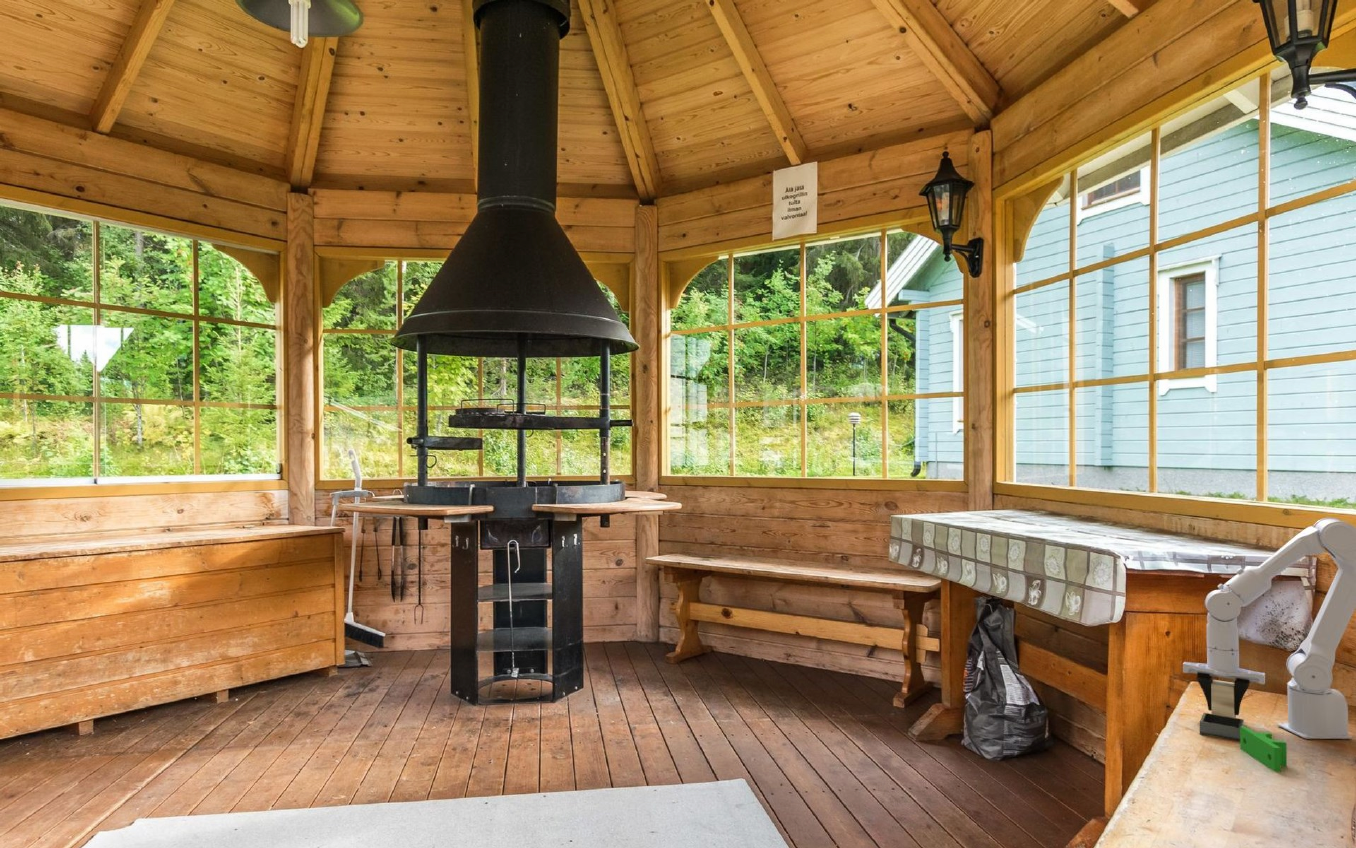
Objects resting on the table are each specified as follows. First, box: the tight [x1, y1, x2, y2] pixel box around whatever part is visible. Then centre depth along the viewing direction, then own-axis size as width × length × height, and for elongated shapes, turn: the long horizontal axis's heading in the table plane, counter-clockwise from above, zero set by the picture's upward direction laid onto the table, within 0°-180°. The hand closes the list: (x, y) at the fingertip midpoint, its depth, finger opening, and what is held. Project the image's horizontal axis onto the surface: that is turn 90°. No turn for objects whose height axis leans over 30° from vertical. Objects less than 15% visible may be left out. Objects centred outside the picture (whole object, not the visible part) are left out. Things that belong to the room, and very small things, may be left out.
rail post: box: [1211, 679, 1237, 718], centre depth 176 cm, size 4×4×8 cm
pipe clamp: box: [1239, 726, 1288, 773], centre depth 155 cm, size 11×4×5 cm, turn 173°
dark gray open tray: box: [1199, 712, 1245, 742], centre depth 169 cm, size 7×7×2 cm
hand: (1223, 711), depth 176 cm, fingers closed on rail post, 4 cm apart
